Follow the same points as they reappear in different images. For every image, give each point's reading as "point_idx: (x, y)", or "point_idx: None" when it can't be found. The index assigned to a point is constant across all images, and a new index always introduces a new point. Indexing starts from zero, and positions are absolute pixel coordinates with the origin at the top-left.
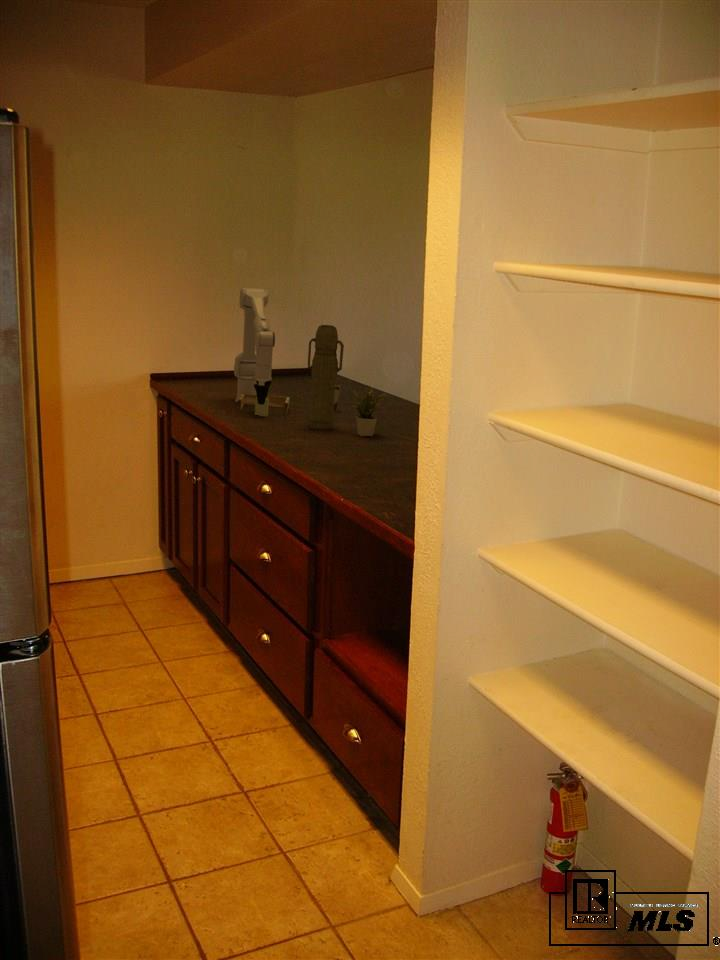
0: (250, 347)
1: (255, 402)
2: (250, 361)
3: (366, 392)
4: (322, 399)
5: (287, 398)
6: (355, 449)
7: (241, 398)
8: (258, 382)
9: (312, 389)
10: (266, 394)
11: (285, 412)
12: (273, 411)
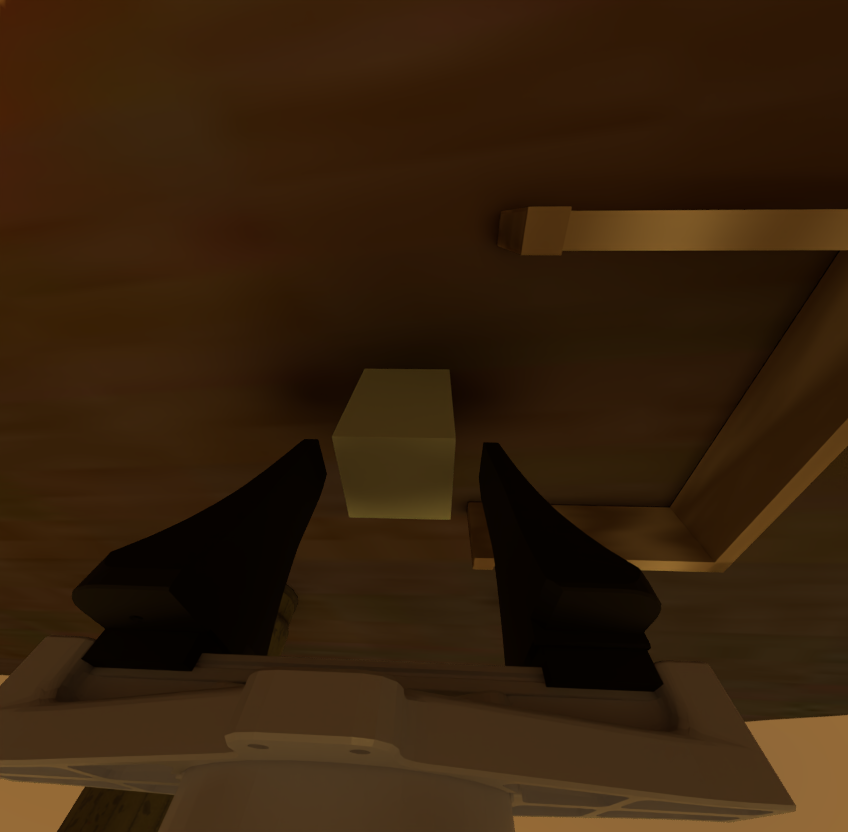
0: None
1: (340, 419)
2: None
3: None
4: None
5: (661, 564)
6: (32, 633)
7: (666, 241)
8: (538, 594)
9: (87, 811)
10: (487, 524)
11: (469, 514)
12: (541, 458)
